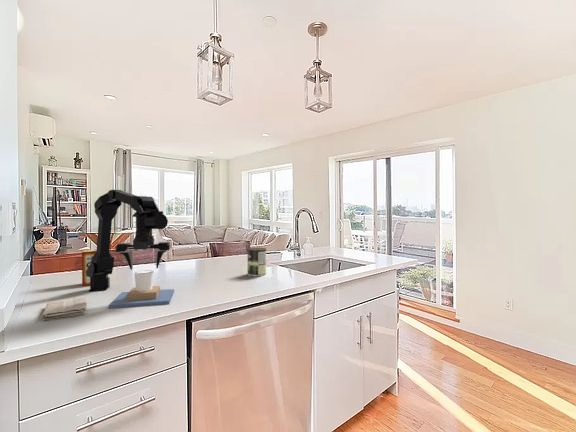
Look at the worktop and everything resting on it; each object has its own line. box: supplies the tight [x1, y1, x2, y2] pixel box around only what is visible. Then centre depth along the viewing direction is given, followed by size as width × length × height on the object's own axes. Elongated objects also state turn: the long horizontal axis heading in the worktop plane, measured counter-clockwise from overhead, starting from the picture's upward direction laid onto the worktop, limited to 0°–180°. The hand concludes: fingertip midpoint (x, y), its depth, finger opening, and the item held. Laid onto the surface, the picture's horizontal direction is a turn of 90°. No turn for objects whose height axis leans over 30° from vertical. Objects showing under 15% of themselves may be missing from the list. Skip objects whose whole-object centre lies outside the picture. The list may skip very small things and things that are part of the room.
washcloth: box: [41, 296, 87, 322], centre depth 106 cm, size 12×18×3 cm, turn 35°
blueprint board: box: [108, 285, 175, 309], centre depth 120 cm, size 20×18×4 cm
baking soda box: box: [81, 249, 97, 287], centre depth 146 cm, size 10×6×16 cm
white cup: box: [133, 269, 155, 292], centre depth 120 cm, size 7×7×7 cm
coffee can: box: [246, 247, 267, 277], centre depth 168 cm, size 10×10×14 cm
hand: (144, 268), depth 120 cm, fingers open, 9 cm apart
